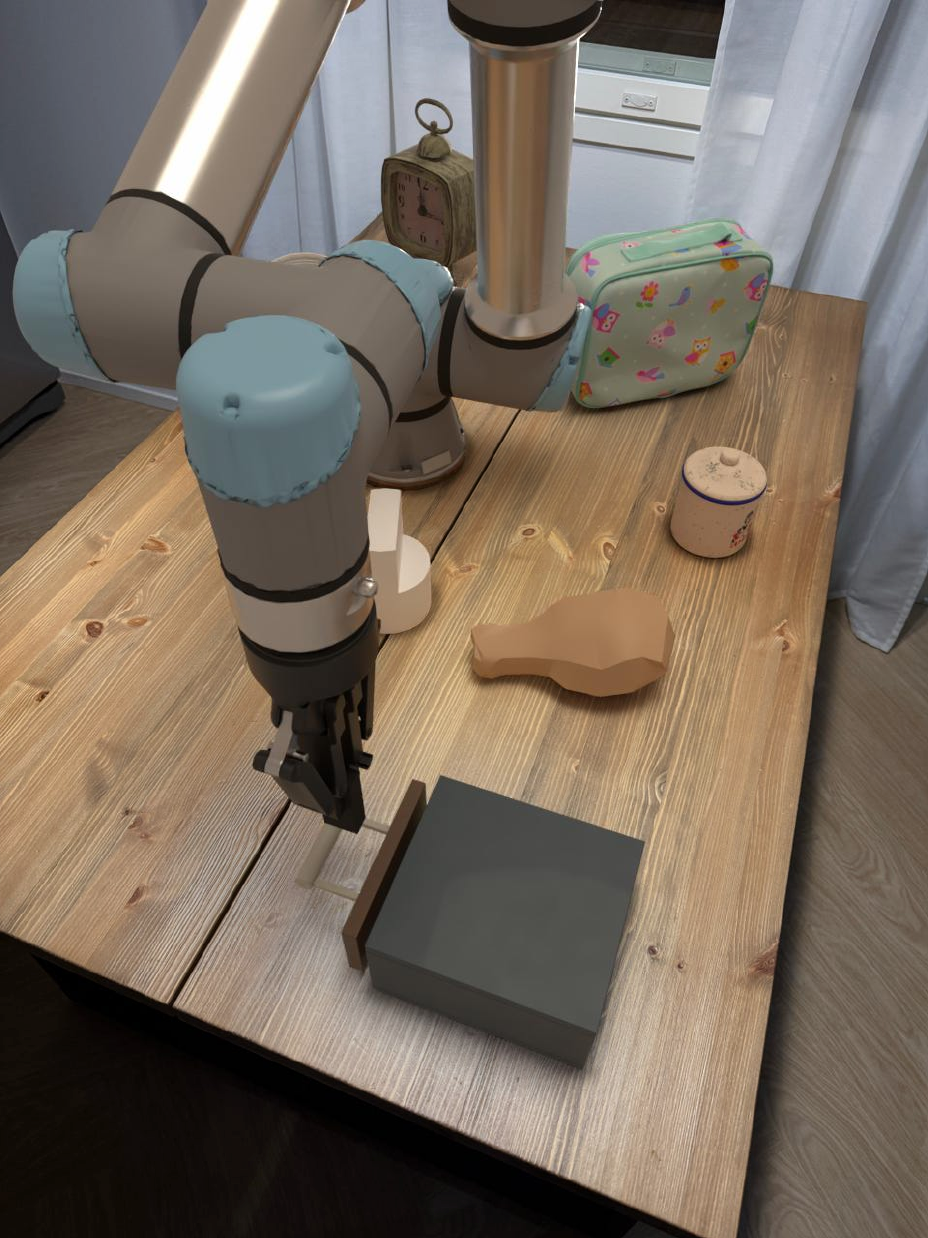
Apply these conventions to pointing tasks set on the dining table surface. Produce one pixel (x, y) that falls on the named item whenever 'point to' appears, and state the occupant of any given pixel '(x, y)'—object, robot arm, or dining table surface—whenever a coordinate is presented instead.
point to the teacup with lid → (717, 501)
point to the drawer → (378, 876)
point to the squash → (583, 643)
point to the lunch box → (666, 309)
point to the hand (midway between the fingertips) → (344, 820)
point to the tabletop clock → (430, 197)
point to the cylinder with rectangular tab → (397, 565)
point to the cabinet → (506, 919)
